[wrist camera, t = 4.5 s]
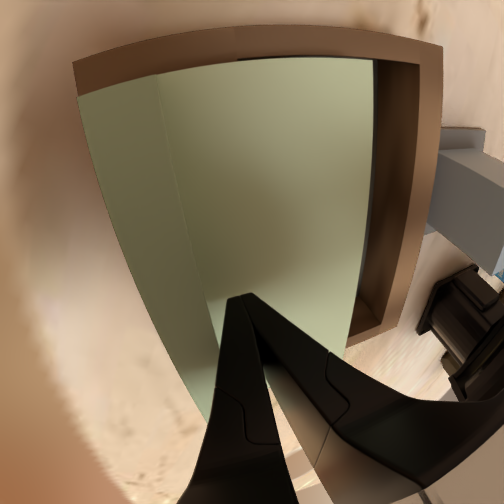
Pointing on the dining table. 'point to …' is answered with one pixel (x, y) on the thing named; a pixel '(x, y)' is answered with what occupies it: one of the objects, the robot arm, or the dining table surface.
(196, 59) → the brown hollow rectangular piece
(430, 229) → the mat
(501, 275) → the ink box
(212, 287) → the cover
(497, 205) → the block
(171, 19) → the dining table surface
